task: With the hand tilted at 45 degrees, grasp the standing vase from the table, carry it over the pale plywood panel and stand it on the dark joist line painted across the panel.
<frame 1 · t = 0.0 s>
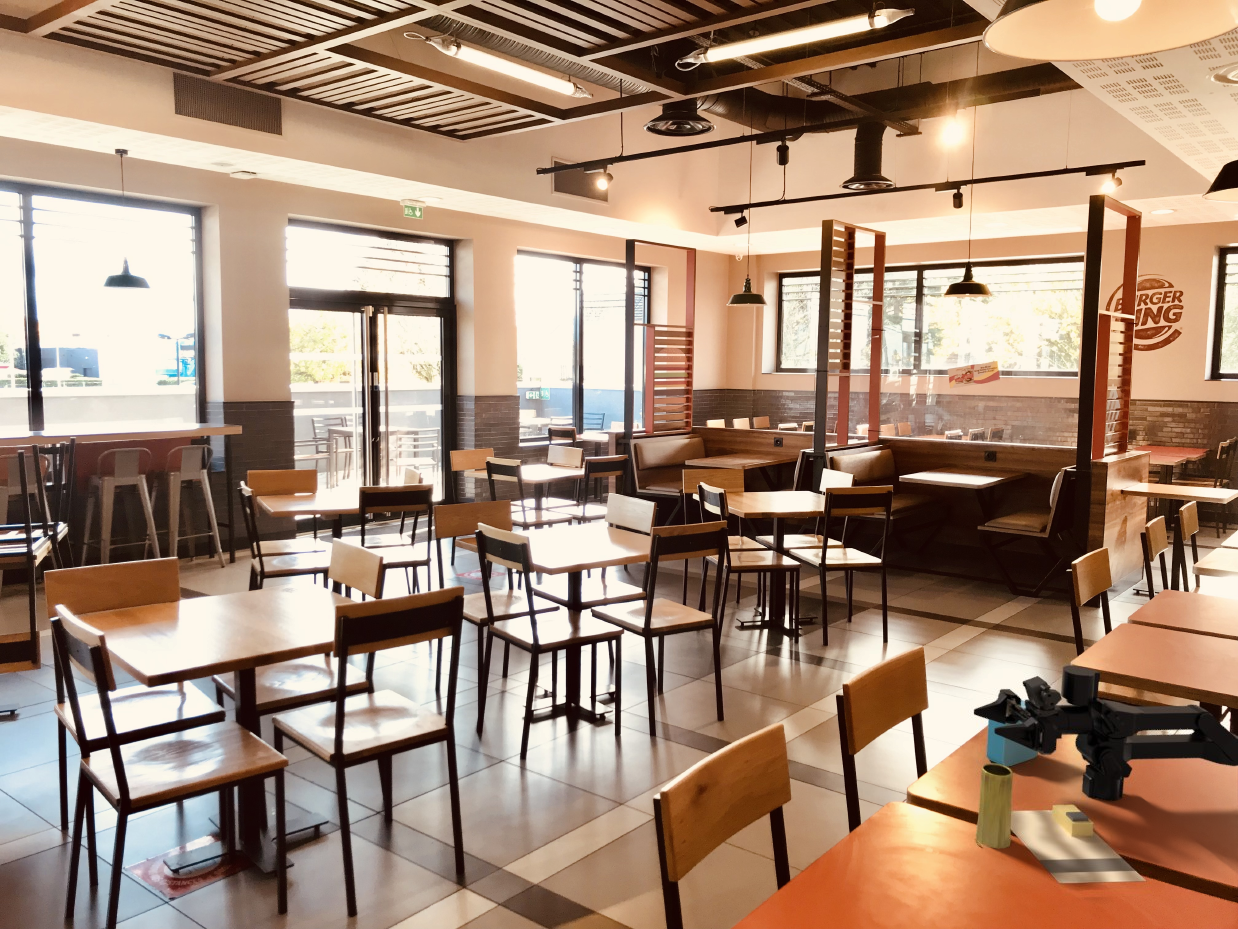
hand: (984, 721, 183), 17 cm above the table, tool horizontal, fingers open, 9 cm apart
subfloor panel: (1065, 848, 168), on the table
blue rounded block: (1012, 760, 204), on the table
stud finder: (1071, 826, 174), resting on subfloor panel
vase: (992, 844, 169), on the table
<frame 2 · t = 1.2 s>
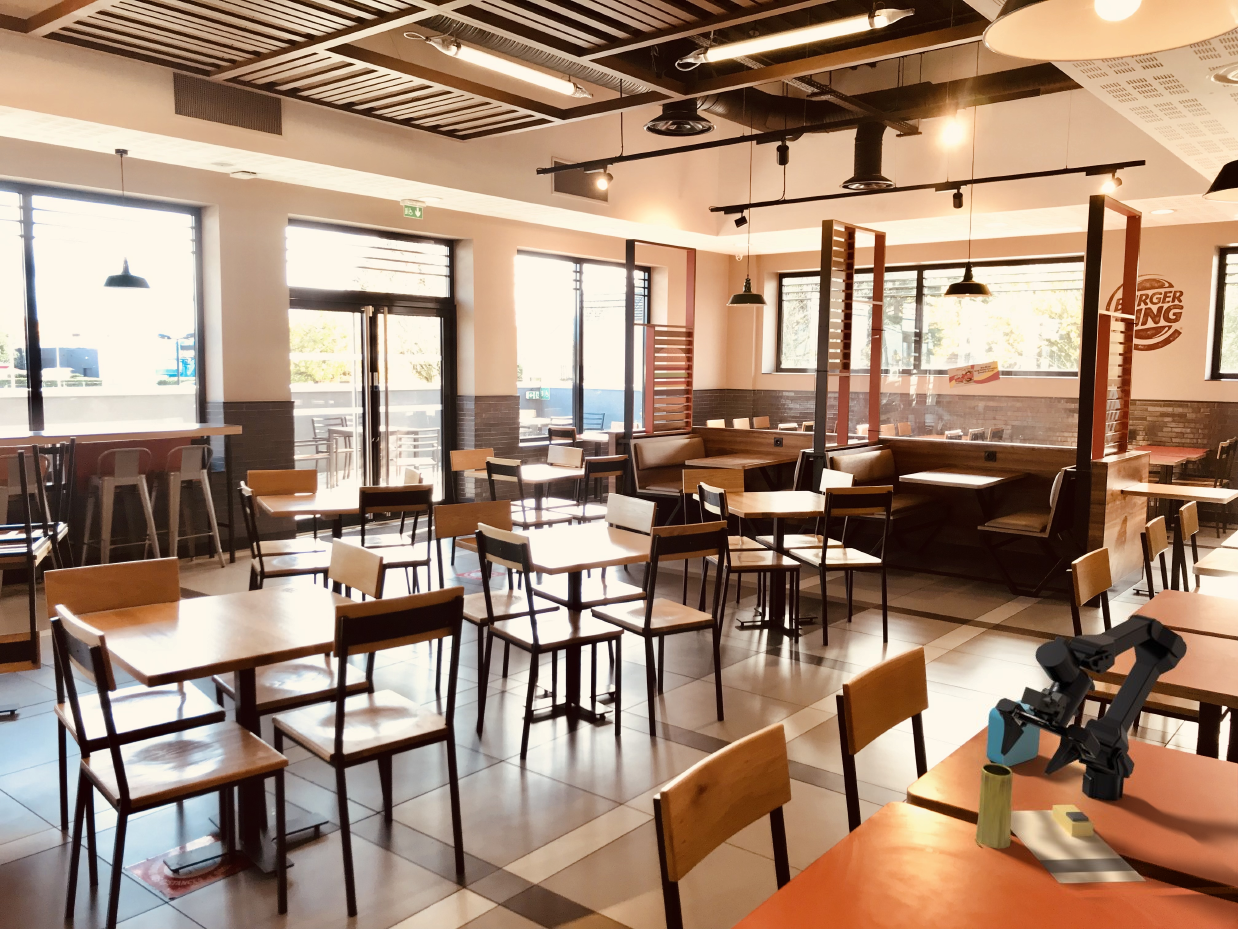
hand: (1023, 764, 172), 13 cm above the table, tool tilted 45°, fingers open, 9 cm apart
nothing on the table moved.
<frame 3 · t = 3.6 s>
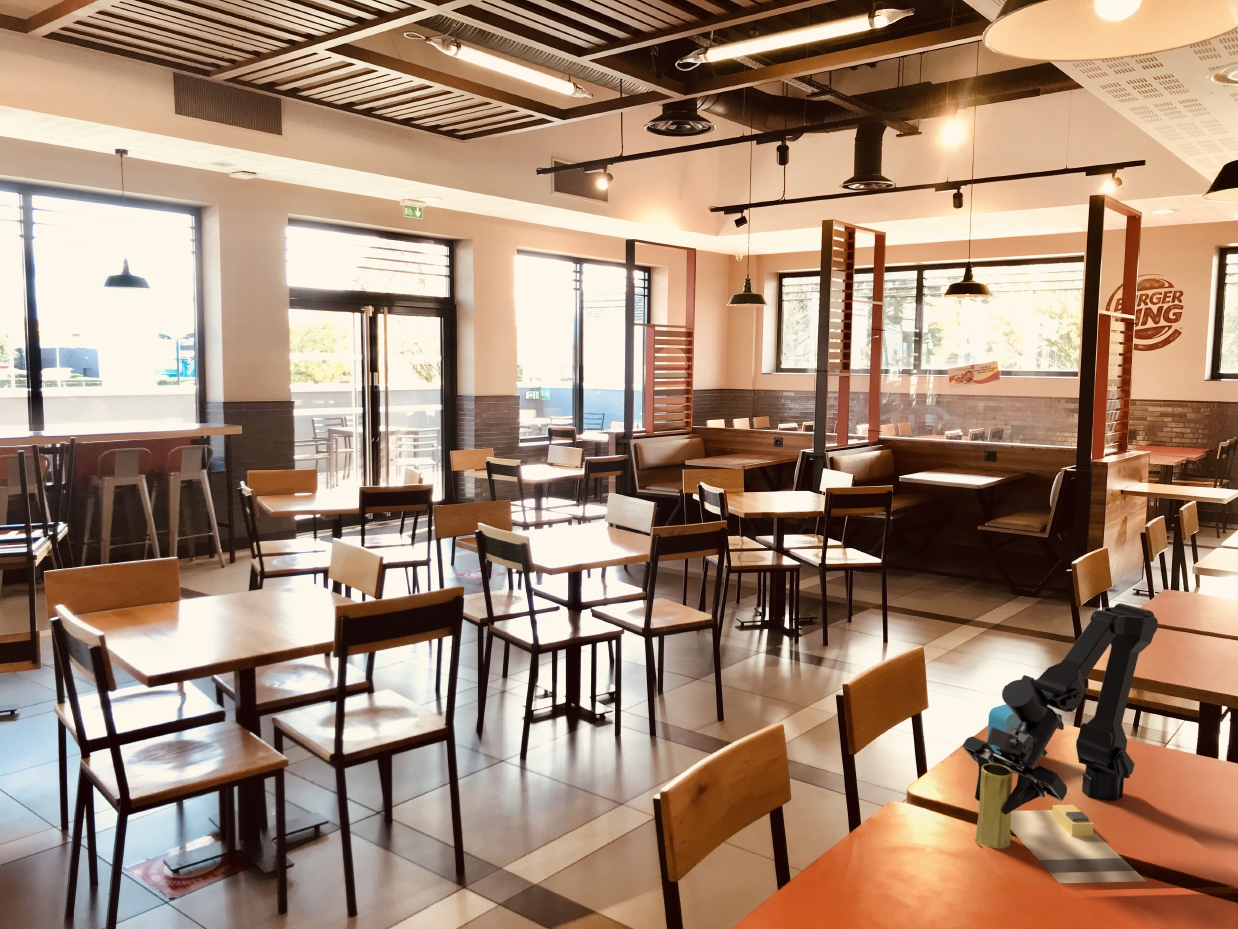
hand: (989, 806, 168), 8 cm above the table, tool tilted 45°, fingers closed on vase, 5 cm apart
vase: (992, 844, 169), on the table, touching gripper
everything else where it was.
when the fingers open (9 cm above the table, at t = 7.1 s): vase stays where it is, resting on subfloor panel.
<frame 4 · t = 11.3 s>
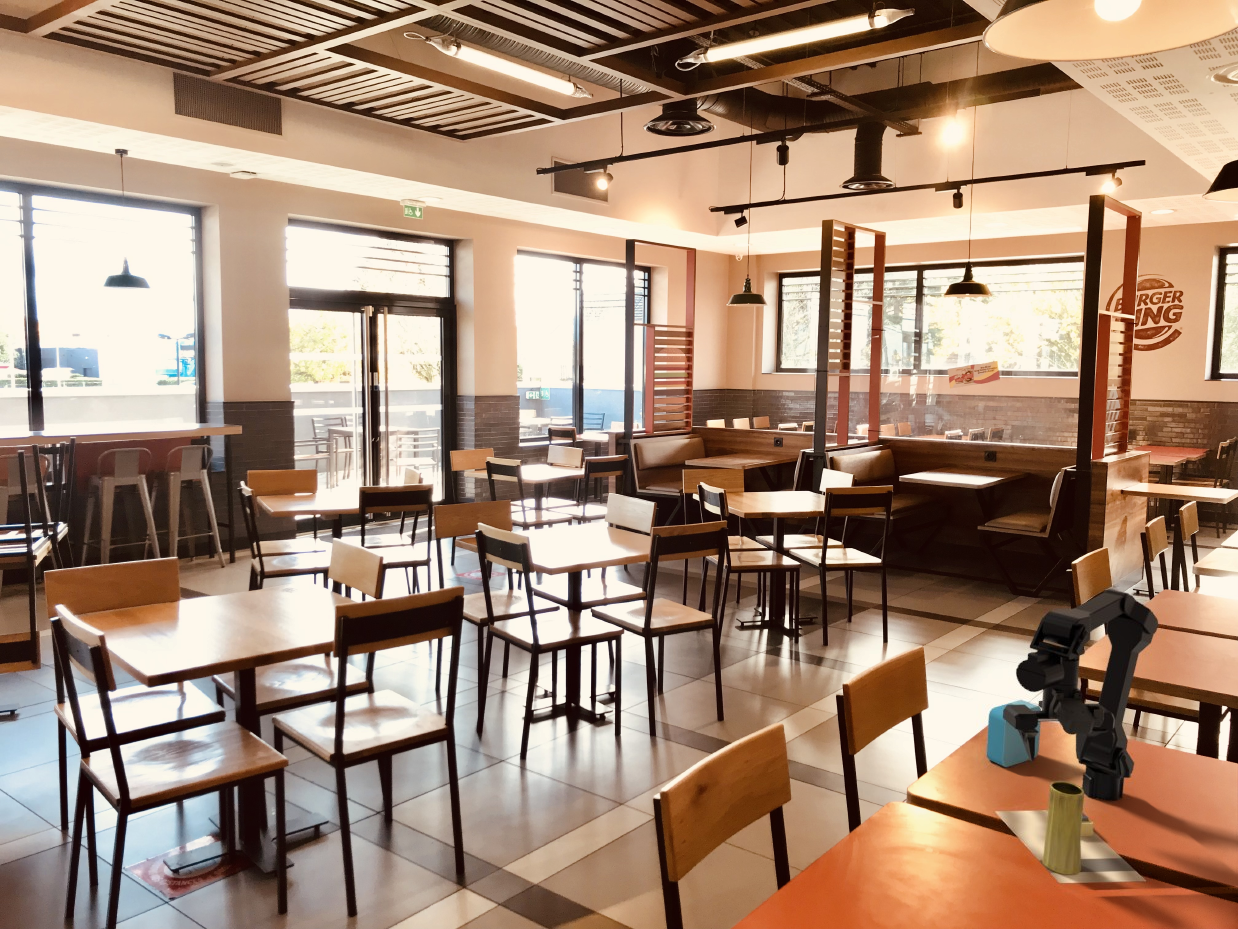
hand: (1055, 760, 174), 13 cm above the table, tool pointing down, fingers open, 9 cm apart
vase: (1061, 866, 161), point 1 cm above the table, touching subfloor panel
everything else where it was.
at the end: vase inside the target area (0.1 cm from its centre), point 0.6 cm above the table; vase tilted 0°; the gripper is holding nothing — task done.
